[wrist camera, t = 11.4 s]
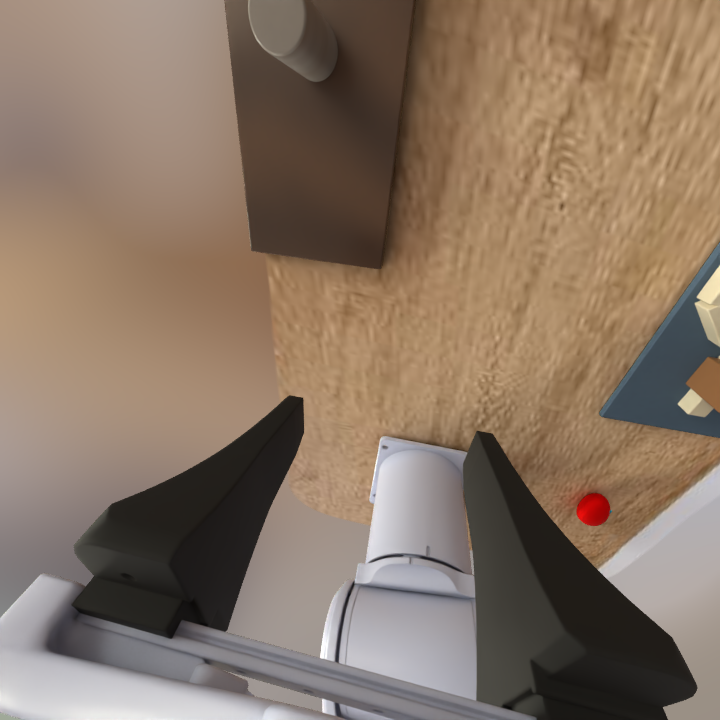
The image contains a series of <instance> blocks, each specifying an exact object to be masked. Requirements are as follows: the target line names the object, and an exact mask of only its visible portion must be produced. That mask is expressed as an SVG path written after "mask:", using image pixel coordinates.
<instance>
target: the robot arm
mask: <svg viewBox="0 0 720 720" xmlns="http://www.w3.org/2000/svg"><path fill="white" fill-rule="evenodd" d="M303 434H304V407H303V398H301V397H295V396H288V397H287V398H285V399H284V400H283V401H282V402H281V403H280V404H279V405H278V406H277V407H276V408H274V409H273V410H272V411H271V412H270V413H269V414H268V415H267V416H265V417H264V418H263V419H262V420H260V421H259V422H258V423H257V424H256V425H254V426H253V427H252V428H251V429H249V430H248V431H247V432H245V433H244V434H243V435H241V436H240V437H239V438H237V439H236V440H235V441H233V442H232V443H231V444H229V445H228V446H226V447H225V448H223V449H222V450H220V451H219V452H217V453H216V454H214V455H212V456H211V457H210V458H208V459H206V460H204V461H203V462H201V463H199V464H197V465H196V466H194V467H192V468H190V469H188V470H187V471H185V472H183V473H181V474H179V475H177V476H175V477H173V478H171V479H169V480H167V481H165V482H163V483H160V484H158V485H156V486H154V487H152V488H149V489H147V490H145V491H143V492H140V493H138V494H135V495H133V496H130V497H128V498H125V499H123V500H120V501H118V502H115V503H113V504H111V505H110V506H109V507H108V508H107V509H106V510H105V511H104V512H103V513H102V515H101V516H100V517H99V518H98V519H97V520H96V521H95V522H94V523H93V525H91V527H90V528H89V529H88V530H87V531H86V532H85V533H84V534H83V535H82V537H81V538H80V539H79V540H78V541H77V542H76V543H75V545H74V551H75V554H76V555H77V557H78V558H79V559H80V561H81V562H82V563H83V564H84V565H85V566H86V567H87V568H88V570H89V571H90V572H91V573H92V574H93V575H94V577H93V578H92V580H91V581H90V582H89V583H88V585H87V586H86V587H85V586H84V585H82V584H80V583H78V582H75V581H72V580H68V579H64V578H61V577H57V576H54V575H50V574H46V573H45V574H41V575H40V576H39V577H38V578H37V579H36V580H35V581H34V582H33V583H32V584H31V585H30V587H29V588H28V589H27V590H26V591H25V592H24V593H23V594H22V595H21V596H20V597H19V598H18V599H17V601H16V602H15V603H14V604H13V605H12V606H11V607H10V608H9V609H8V610H7V611H6V613H4V615H3V616H2V617H1V618H0V713H3V714H6V715H9V716H12V717H15V718H18V719H21V720H668V719H667V716H666V714H665V712H664V709H663V707H664V706H668V705H671V704H674V703H677V702H680V701H683V700H686V699H688V698H690V697H692V696H693V695H694V694H695V693H696V691H697V685H696V682H695V680H694V678H693V676H692V674H691V672H690V670H689V668H688V666H687V664H686V663H685V660H684V658H683V657H682V655H681V653H680V651H679V649H678V647H677V646H676V644H675V642H674V640H673V638H672V637H671V636H670V635H669V634H667V633H666V632H665V631H664V630H663V629H662V628H661V627H659V626H658V625H657V624H656V623H655V622H654V621H652V620H651V619H650V618H649V617H648V616H647V615H646V614H644V613H643V612H642V611H641V610H640V609H639V608H638V607H636V606H635V605H634V604H633V603H632V602H631V601H630V600H628V599H627V598H626V597H625V596H624V595H623V594H622V593H621V592H620V591H619V590H618V589H617V588H616V587H615V586H614V585H613V584H611V583H610V582H609V581H608V580H607V579H606V578H605V577H604V576H603V575H602V574H601V573H600V572H599V571H598V570H597V569H596V568H595V567H594V566H593V565H592V564H591V563H590V562H589V561H588V560H587V559H586V558H585V556H584V555H583V554H582V553H581V552H580V551H579V550H578V549H577V548H576V547H575V546H574V545H573V544H572V543H571V542H570V540H569V539H568V538H567V537H566V536H565V535H564V534H563V532H562V531H561V530H560V529H559V528H558V527H557V525H556V524H555V523H554V522H553V521H552V520H551V518H550V517H549V516H548V515H547V513H546V512H545V511H544V510H543V508H542V507H541V506H540V504H539V503H538V502H537V500H536V499H535V498H534V496H533V495H532V494H531V492H530V491H529V489H528V488H527V486H526V485H525V484H524V482H523V481H522V479H521V478H520V476H519V475H518V473H517V472H516V470H515V469H514V467H513V466H512V464H511V462H510V461H509V459H508V458H507V456H506V454H505V453H504V451H503V450H502V448H501V446H500V445H499V443H498V442H497V440H496V438H495V437H494V435H493V434H491V433H486V432H481V431H477V432H476V434H475V436H474V439H473V441H472V443H471V446H470V448H469V450H468V452H464V451H459V450H454V449H449V448H444V447H439V446H434V445H429V444H424V443H418V442H413V441H408V440H403V439H398V438H393V437H388V436H383V437H381V439H380V444H379V450H378V455H377V461H376V466H375V472H374V477H373V483H372V489H371V494H370V502H371V503H372V504H374V510H373V516H372V523H371V530H370V536H369V543H368V550H367V557H366V563H358V566H357V573H356V578H355V579H348V580H346V581H345V582H344V583H343V585H342V586H341V588H340V589H339V590H338V591H337V592H336V594H335V596H334V598H333V600H332V602H331V605H330V608H329V612H328V615H327V619H326V623H325V628H324V634H323V640H322V647H321V657H320V658H318V657H315V656H311V655H307V654H304V653H300V652H297V651H293V650H289V649H286V648H282V647H279V646H275V645H271V644H268V643H264V642H260V641H257V640H253V639H249V638H245V637H242V636H238V635H234V634H231V633H228V632H225V631H227V629H228V626H229V622H230V620H231V616H232V613H233V610H234V607H235V604H236V601H237V598H238V595H239V592H240V589H241V586H242V583H243V580H244V577H245V574H246V571H247V568H248V565H249V563H250V560H251V557H252V554H253V551H254V548H255V546H256V543H257V540H258V538H259V535H260V532H261V530H262V527H263V524H264V522H265V519H266V517H267V514H268V511H269V509H270V507H271V505H272V502H273V500H274V498H275V496H276V494H277V492H278V490H279V488H280V486H281V484H282V482H283V480H284V478H285V476H286V474H287V472H288V470H289V468H290V466H291V464H292V462H293V460H294V458H295V456H296V453H297V451H298V448H299V445H300V442H301V439H302V436H303ZM384 445H386V446H384ZM463 490H464V496H465V503H466V509H467V516H468V523H469V529H470V536H471V542H472V550H473V560H474V575H472V570H471V561H470V552H469V542H468V533H467V524H466V515H465V506H464V497H463ZM224 670H225V671H224ZM226 671H228V672H232V673H235V674H238V675H242V676H246V677H249V678H253V679H256V680H259V681H263V682H266V683H270V684H273V685H277V686H280V687H284V688H287V689H291V690H294V691H297V692H301V693H304V694H308V695H311V696H315V697H319V698H322V707H323V708H322V710H323V712H319V711H315V710H311V709H307V708H303V707H299V706H295V705H290V704H286V703H282V702H278V701H273V700H268V699H264V698H259V697H255V696H254V695H253V694H251V693H250V692H249V691H248V689H247V688H248V682H247V681H246V680H244V679H242V678H239V677H237V676H235V675H233V674H230V673H228V672H226Z"/></svg>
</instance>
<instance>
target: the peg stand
mask: <svg viewBox="0 0 720 720" xmlns="http://www.w3.org/2000/svg"><path fill="white" fill-rule="evenodd" d="M224 1H225V10H226V19H227V29H228V38H229V47H230V57H231V66H232V75H233V85H234V94H235V104H236V113H237V122H238V131H239V141H240V150H241V160H242V169H243V178H244V188H245V196H246V206H247V215H248V224H249V234H250V244H251V250H252V251H255V252H261V253H268V254H275V255H282V256H289V257H296V258H303V259H310V260H317V261H324V262H331V263H339V264H346V265H353V266H360V267H367V268H374V269H381V268H382V265H383V257H384V250H385V242H386V234H387V226H388V218H389V210H390V202H391V194H392V187H393V179H394V171H395V163H396V155H397V147H398V139H399V131H400V124H401V116H402V108H403V100H404V92H405V84H406V76H407V68H408V60H409V53H410V45H411V37H412V29H413V21H414V13H415V5H416V0H224Z"/></svg>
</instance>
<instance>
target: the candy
mask: <svg viewBox="0 0 720 720" xmlns="http://www.w3.org/2000/svg"><path fill="white" fill-rule="evenodd" d="M611 512H612V510H611V509H610V505H609V502H608V500H607V499H606V498H605V497H604V496H603V495H601V494H598V493H592V494H589V495H587V496H585V497H584V498H583V499H582V500H581V501H580V503H579V504H578V506H577V516H578V518H579V519H580V520H581V521H582V522H583V523H585V524H587V525H590V526H598V525H601V524H603V523H604V522H605V521H606V520H607V519H608V517H609V515H610V513H611Z"/></svg>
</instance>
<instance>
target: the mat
mask: <svg viewBox="0 0 720 720" xmlns="http://www.w3.org/2000/svg"><path fill="white" fill-rule="evenodd" d="M719 265H720V242H719V244H718V245H717V247H716V248H715V249H714V251H713V252H712V254H711V255H710V257H709V258H708V259H707V261H706V262H705V264H704V265H703V266H702V268H701V269H700V271H699V272H698V274H697V275H696V276H695V278H694V279H693V281H692V282H691V283H690V285H689V286H688V288H687V289H686V291H685V292H684V293H683V295H682V296H681V298H680V299H679V300H678V302H677V303H676V305H675V306H674V308H673V309H672V310H671V312H670V313H669V315H668V316H667V317H666V319H665V320H664V322H663V323H662V325H661V326H660V327H659V329H658V330H657V332H656V333H655V334H654V336H653V337H652V339H651V340H650V342H649V343H648V344H647V346H646V347H645V349H644V350H643V351H642V353H641V354H640V356H639V357H638V359H637V360H636V361H635V363H634V364H633V366H632V367H631V369H630V370H629V371H628V373H627V374H626V376H625V377H624V378H623V380H622V381H621V383H620V384H619V386H618V387H617V388H616V390H615V391H614V393H613V394H612V395H611V397H610V398H609V400H608V401H607V403H606V404H605V405H604V407H603V408H602V410H601V411H600V412H599V414H600V416H601V417H605V418H610V419H616V420H622V421H627V422H633V423H639V424H644V425H650V426H656V427H661V428H667V429H672V430H678V431H684V432H689V433H695V434H701V435H706V436H712V437H718V438H720V413H719V412H717V411H716V410H715V409H713V410H712V411H711V412H710V413H709V414H708V415H707V416H706V417H700V416H695V415H689V414H687V413H686V412H685V411H684V410H683V409H682V408H681V407H680V406H679V405H678V403H679V402H680V400H681V399H682V398H683V397H684V396H685V395H686V394H687V392H688V391H689V390H690V389H691V388H690V387H689V386H687V385H686V382H687V381H688V379H689V378H690V377H691V376H692V375H693V374H694V372H695V371H696V370H697V369H698V368H699V367H700V365H701V364H702V363H703V362H704V361H705V360H706V358H707V357H714V358H718V357H719V356H720V347H719V346H718V345H716V344H714V343H713V342H711V341H710V340H708V338H707V335H706V333H705V330H704V327H703V325H702V322H701V319H700V317H699V314H698V311H697V309H696V306H695V303H696V302H698V301H700V299H698V298H697V295H698V294H699V293H700V291H701V290H702V289H703V287H704V286H705V284H706V283H707V282H708V280H709V279H710V278H711V276H712V275H713V274H714V272H715V271H716V269H717V268H718V267H719Z"/></svg>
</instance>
